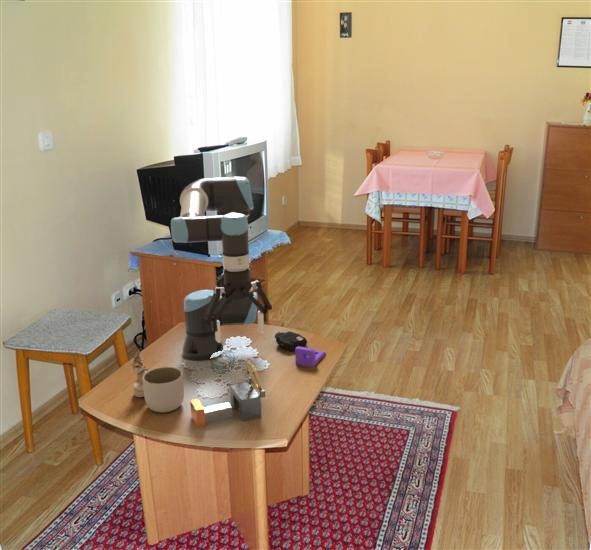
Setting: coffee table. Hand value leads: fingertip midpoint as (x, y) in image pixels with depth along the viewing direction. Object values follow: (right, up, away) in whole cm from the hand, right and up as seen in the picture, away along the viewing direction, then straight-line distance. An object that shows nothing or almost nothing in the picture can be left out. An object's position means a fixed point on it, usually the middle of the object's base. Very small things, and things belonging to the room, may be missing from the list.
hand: (240, 337), depth 194 cm
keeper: (+5, -16, +8) cm, 18 cm away
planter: (-25, -23, +13) cm, 36 cm away
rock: (+11, -9, +56) cm, 58 cm away
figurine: (-33, -21, +21) cm, 44 cm away
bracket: (+22, -13, +44) cm, 51 cm away
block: (+1, -24, +9) cm, 25 cm away
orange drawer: (-9, -25, +5) cm, 27 cm away
